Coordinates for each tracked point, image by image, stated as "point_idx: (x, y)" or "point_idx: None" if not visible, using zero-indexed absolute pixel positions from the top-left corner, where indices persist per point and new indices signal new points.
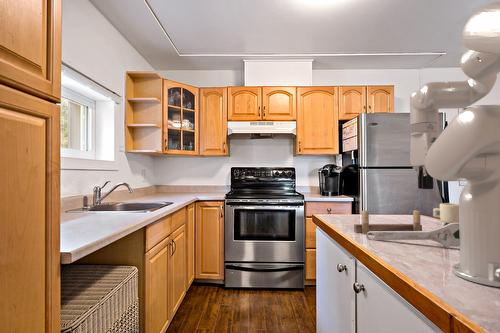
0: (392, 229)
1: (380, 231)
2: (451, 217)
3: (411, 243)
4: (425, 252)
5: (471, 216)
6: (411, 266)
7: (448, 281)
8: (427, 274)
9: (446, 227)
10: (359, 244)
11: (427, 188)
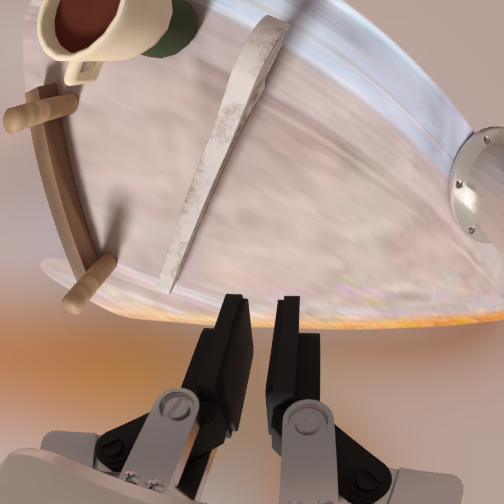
0: (66, 181)
1: (166, 268)
2: (152, 30)
3: None
4: (315, 191)
5: None
6: (416, 287)
7: (488, 267)
8: (457, 282)
9: (250, 95)
10: None
11: (298, 332)
